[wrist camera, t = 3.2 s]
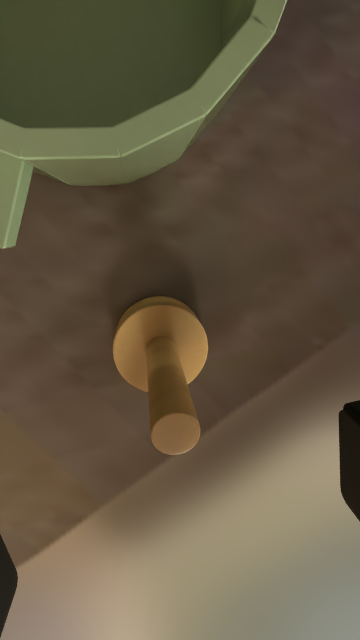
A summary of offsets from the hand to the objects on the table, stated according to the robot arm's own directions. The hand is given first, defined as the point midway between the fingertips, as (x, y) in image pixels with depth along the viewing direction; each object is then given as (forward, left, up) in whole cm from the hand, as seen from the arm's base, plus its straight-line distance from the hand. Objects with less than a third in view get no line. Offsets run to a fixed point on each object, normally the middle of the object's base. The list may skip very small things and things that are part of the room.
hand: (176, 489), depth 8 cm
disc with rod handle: (0, 0, -11) cm, 11 cm away
